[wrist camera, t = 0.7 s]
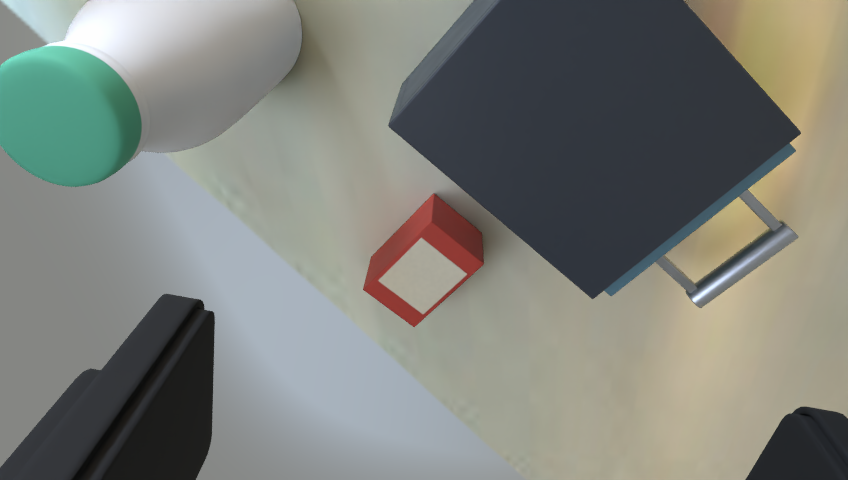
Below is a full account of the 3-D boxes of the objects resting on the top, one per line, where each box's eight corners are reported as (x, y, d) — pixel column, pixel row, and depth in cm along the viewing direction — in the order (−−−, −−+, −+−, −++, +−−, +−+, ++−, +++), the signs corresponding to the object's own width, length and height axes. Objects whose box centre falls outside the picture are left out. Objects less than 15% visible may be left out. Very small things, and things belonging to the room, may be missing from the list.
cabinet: (733, 89, 38) (802, 133, 30) (569, 231, 43) (592, 299, 35) (560, -101, 33) (590, -105, 26) (401, 84, 39) (387, 126, 31)
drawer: (800, 176, 39) (862, 223, 33) (647, 293, 44) (676, 353, 38) (583, -60, 33) (610, -54, 27) (433, 105, 38) (429, 140, 32)
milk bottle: (307, -32, 36) (161, 21, 18) (302, 96, 39) (175, 245, 22) (176, -53, 35) (-101, -20, 18) (183, 78, 39) (-42, 213, 21)
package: (371, 257, 45) (362, 290, 41) (433, 192, 42) (431, 221, 38) (418, 292, 46) (414, 328, 42) (482, 232, 43) (484, 264, 39)
